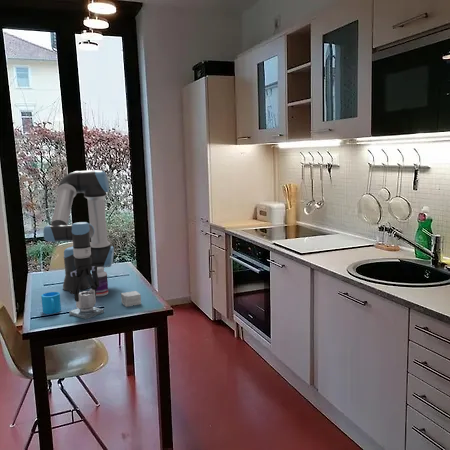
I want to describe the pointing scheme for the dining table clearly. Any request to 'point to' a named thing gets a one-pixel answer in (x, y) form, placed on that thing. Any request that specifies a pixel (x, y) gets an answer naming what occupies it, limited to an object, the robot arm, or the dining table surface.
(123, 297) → the small box
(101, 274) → the pill bottle
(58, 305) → the mug
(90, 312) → the block
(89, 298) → the tube
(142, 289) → the dining table surface
